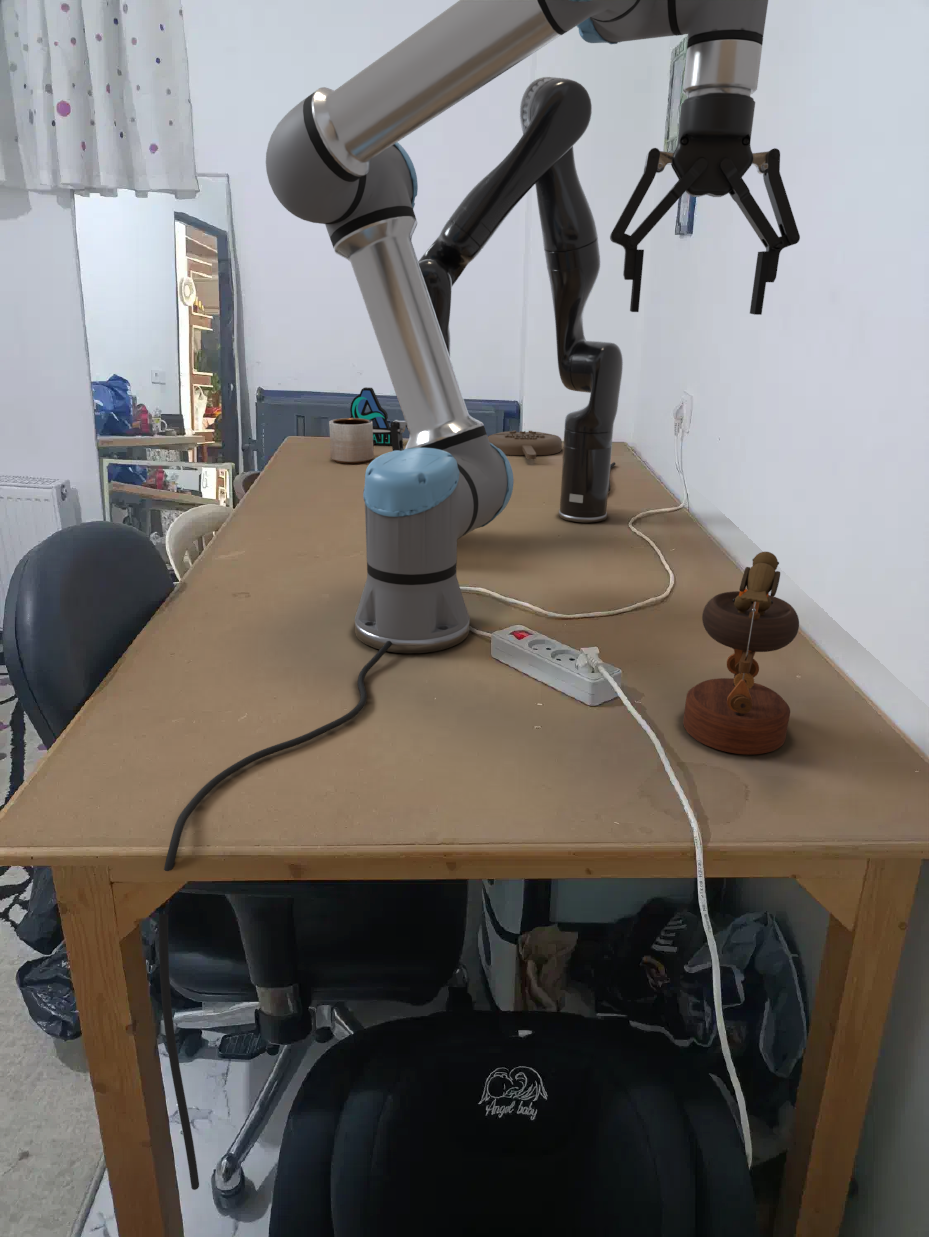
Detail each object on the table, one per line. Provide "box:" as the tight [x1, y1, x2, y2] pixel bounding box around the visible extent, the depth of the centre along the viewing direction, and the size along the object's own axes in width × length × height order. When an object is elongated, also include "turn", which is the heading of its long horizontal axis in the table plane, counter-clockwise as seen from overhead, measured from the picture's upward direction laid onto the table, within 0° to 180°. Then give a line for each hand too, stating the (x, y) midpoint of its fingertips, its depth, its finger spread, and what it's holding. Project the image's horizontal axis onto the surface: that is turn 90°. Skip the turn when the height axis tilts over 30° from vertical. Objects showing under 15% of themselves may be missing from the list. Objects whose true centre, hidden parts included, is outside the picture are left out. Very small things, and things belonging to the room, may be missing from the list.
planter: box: [328, 417, 375, 464], centre depth 212 cm, size 11×11×10 cm
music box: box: [682, 551, 800, 755], centre depth 87 cm, size 15×11×20 cm
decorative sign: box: [349, 387, 392, 446], centre depth 231 cm, size 19×2×15 cm, turn 86°
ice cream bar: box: [487, 430, 563, 460], centre depth 224 cm, size 21×28×4 cm
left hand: (694, 313), depth 96 cm, fingers open, 13 cm apart
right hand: (429, 481), depth 151 cm, fingers closed on stack of blocks, 6 cm apart
